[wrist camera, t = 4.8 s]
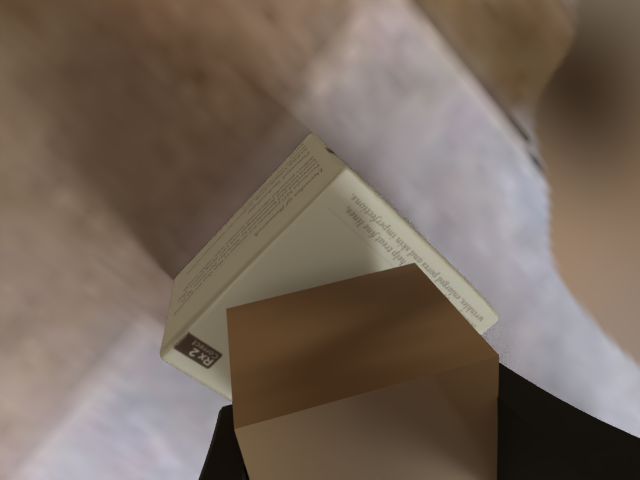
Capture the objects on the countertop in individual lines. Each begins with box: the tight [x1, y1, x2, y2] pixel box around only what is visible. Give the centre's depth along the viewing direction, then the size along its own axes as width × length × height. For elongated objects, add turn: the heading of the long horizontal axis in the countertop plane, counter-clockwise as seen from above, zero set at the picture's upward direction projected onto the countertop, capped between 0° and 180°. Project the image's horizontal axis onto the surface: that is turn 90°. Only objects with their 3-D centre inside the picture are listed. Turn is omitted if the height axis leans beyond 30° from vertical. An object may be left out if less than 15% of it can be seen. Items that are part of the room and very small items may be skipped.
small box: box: [160, 133, 499, 401], centre depth 17 cm, size 8×8×5 cm
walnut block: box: [226, 263, 499, 480], centre depth 11 cm, size 5×5×4 cm
